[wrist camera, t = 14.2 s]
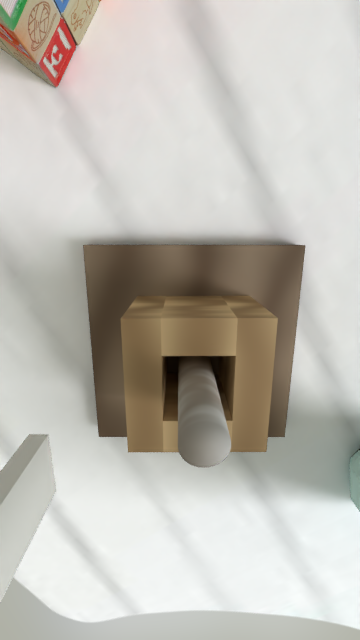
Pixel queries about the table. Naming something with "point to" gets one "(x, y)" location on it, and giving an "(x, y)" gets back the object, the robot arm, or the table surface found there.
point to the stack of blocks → (44, 33)
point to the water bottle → (355, 478)
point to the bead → (197, 340)
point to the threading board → (187, 281)
